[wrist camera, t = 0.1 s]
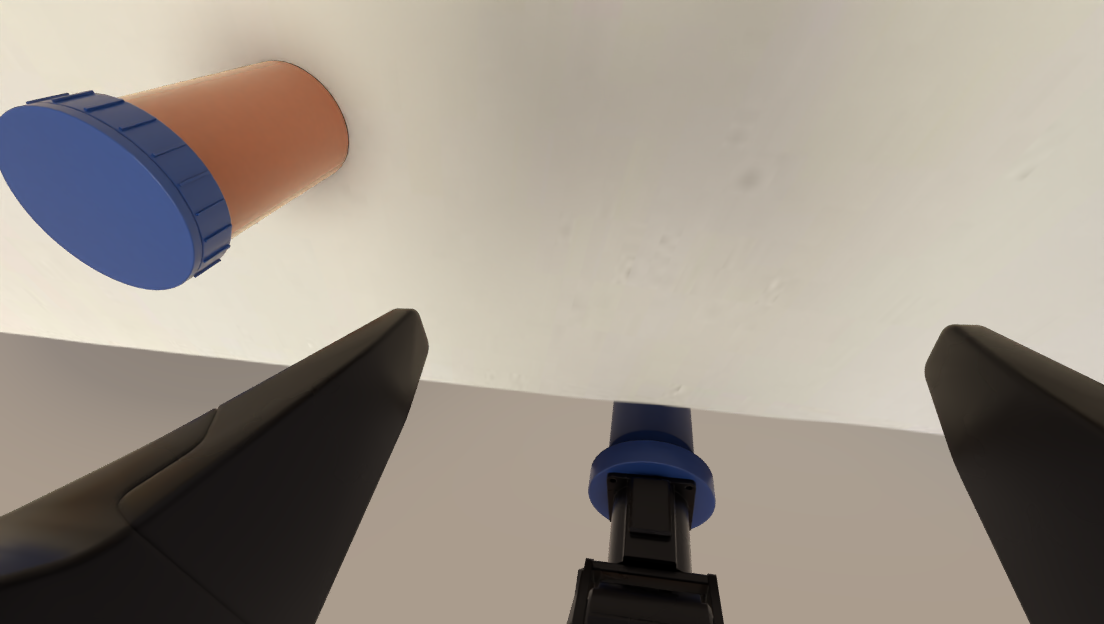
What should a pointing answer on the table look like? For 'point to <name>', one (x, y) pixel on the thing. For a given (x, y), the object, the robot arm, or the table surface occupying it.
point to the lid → (115, 188)
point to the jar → (255, 133)
